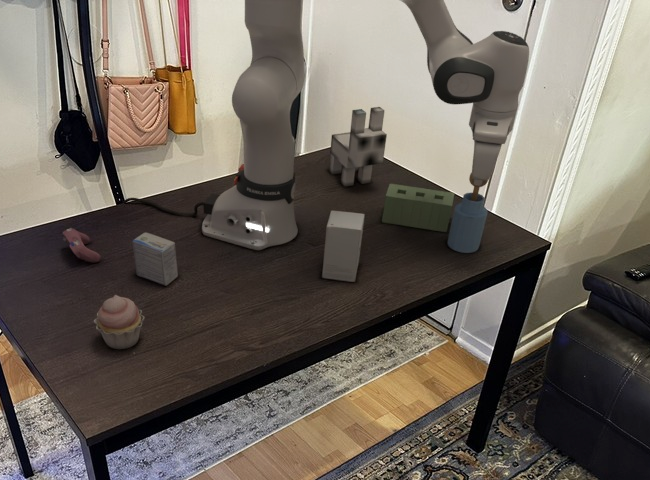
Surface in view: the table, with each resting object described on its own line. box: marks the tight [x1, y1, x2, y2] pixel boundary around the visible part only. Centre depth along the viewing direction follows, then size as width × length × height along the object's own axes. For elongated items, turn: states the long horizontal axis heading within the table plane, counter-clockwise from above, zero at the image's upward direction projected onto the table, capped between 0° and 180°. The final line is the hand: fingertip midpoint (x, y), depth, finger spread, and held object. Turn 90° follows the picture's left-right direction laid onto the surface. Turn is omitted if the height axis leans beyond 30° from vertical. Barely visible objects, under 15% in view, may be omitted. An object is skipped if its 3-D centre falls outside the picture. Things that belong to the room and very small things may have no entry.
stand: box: [381, 183, 455, 233], centre depth 169 cm, size 16×7×7 cm, turn 75°
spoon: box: [468, 171, 489, 202], centre depth 157 cm, size 4×1×17 cm, turn 75°
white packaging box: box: [321, 210, 366, 283], centre depth 149 cm, size 7×7×13 cm
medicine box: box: [132, 231, 179, 287], centre depth 147 cm, size 8×4×9 cm, turn 59°
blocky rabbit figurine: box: [328, 106, 388, 187], centre depth 181 cm, size 8×18×20 cm, turn 22°
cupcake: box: [93, 294, 145, 350], centre depth 130 cm, size 9×9×10 cm
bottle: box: [447, 192, 489, 254], centre depth 159 cm, size 7×7×12 cm
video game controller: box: [62, 227, 101, 263], centre depth 154 cm, size 10×5×7 cm, turn 27°
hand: (477, 181), depth 153 cm, fingers closed on spoon, 1 cm apart
